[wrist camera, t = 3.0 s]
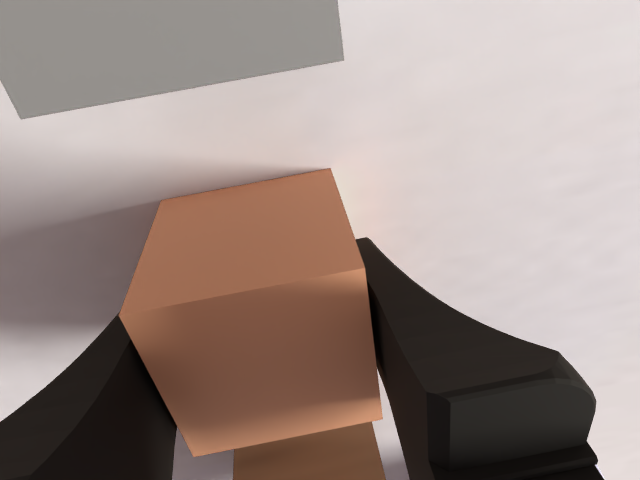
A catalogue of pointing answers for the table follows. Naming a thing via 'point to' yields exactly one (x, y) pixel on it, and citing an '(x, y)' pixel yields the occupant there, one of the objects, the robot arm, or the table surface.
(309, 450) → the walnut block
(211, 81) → the slate grey block
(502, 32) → the table surface
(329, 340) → the terracotta block
